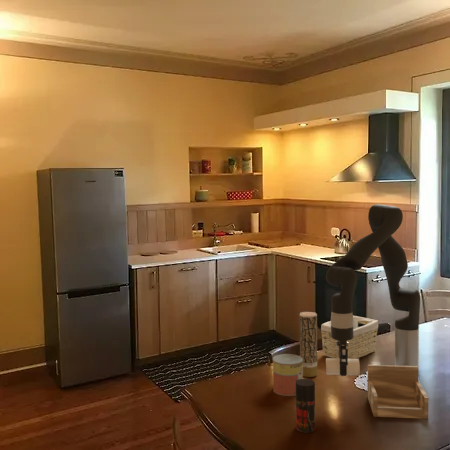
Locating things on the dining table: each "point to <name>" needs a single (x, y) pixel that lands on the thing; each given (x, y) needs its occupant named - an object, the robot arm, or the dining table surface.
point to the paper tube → (308, 343)
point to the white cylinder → (334, 366)
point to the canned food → (286, 373)
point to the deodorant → (305, 405)
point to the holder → (396, 392)
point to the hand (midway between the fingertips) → (342, 372)
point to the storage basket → (358, 345)
